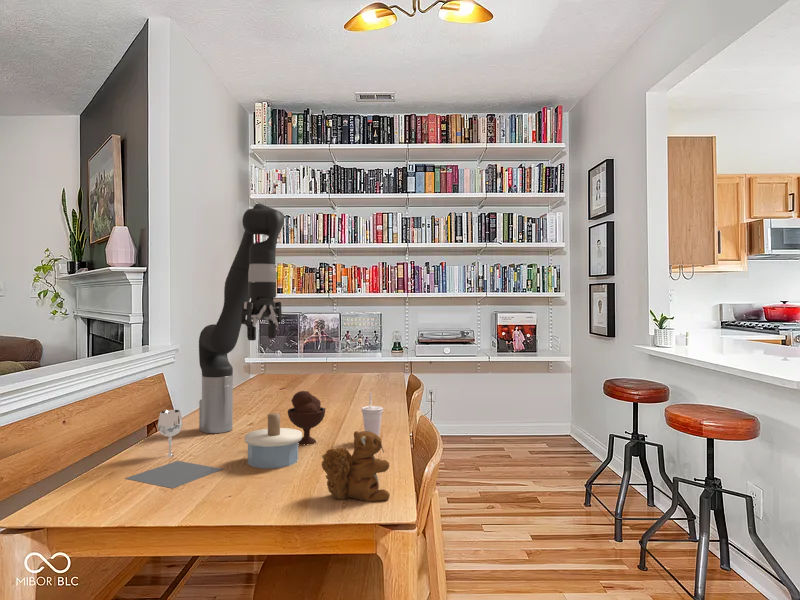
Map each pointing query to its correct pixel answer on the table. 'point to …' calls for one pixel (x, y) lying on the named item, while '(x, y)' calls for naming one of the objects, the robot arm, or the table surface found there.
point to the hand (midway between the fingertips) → (262, 339)
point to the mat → (174, 474)
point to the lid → (273, 434)
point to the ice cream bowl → (306, 414)
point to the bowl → (272, 456)
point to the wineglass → (170, 425)
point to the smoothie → (372, 418)
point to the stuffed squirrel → (356, 469)
